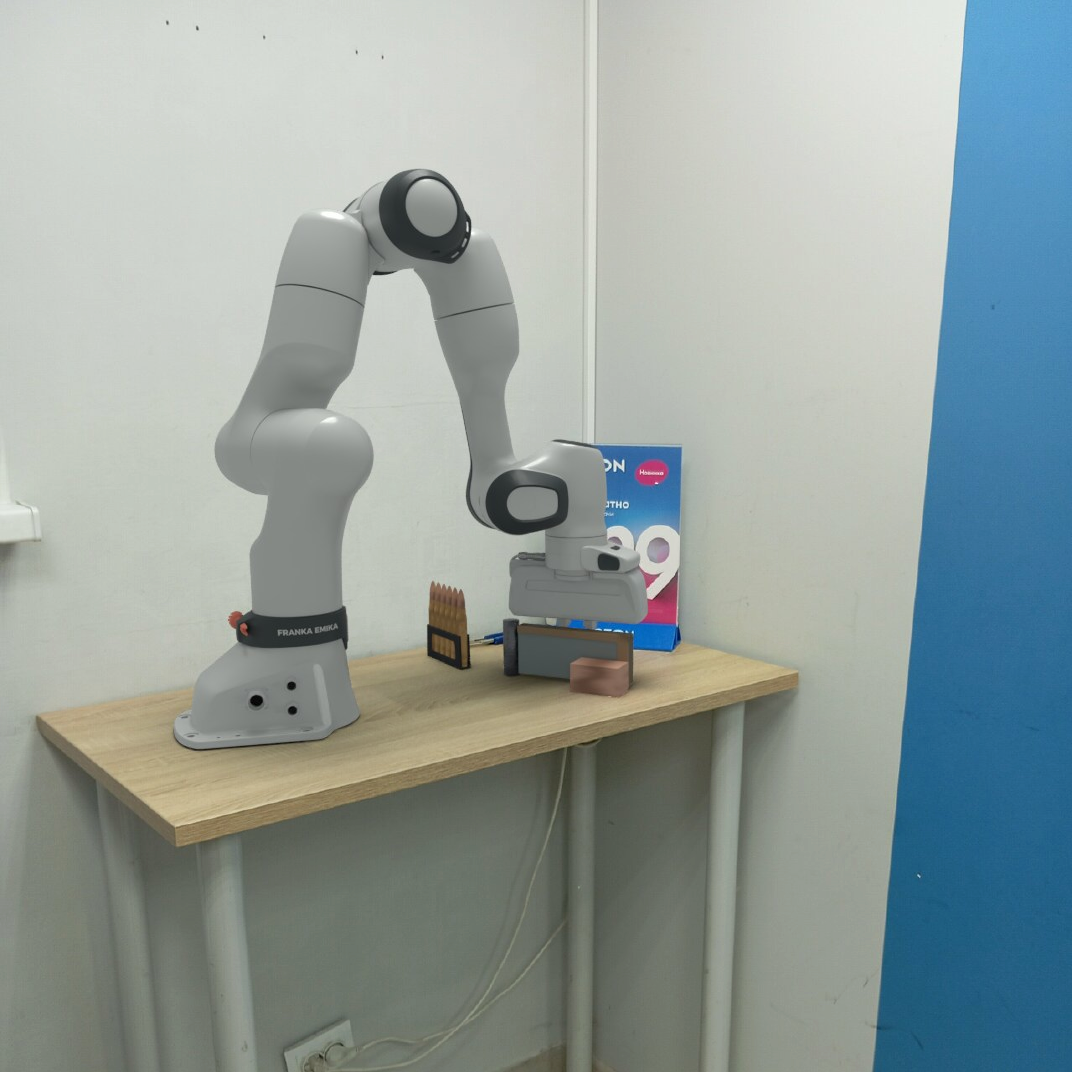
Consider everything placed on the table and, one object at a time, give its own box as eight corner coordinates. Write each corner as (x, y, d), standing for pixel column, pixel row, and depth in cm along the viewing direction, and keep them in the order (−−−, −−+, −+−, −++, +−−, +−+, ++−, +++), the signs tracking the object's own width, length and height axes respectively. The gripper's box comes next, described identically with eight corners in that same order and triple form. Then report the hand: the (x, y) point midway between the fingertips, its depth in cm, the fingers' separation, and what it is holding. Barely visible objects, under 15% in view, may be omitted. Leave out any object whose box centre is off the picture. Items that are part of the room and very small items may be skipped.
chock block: (570, 692, 140) (570, 663, 140) (581, 684, 144) (581, 657, 143) (618, 697, 137) (618, 668, 136) (628, 690, 141) (628, 661, 140)
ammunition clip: (471, 668, 153) (469, 589, 152) (460, 670, 152) (458, 590, 151) (437, 653, 162) (435, 579, 160) (426, 655, 161) (424, 580, 159)
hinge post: (507, 676, 148) (506, 622, 147) (501, 672, 150) (500, 619, 149) (522, 674, 149) (521, 620, 148) (516, 670, 151) (515, 617, 150)
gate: (517, 673, 148) (517, 625, 147) (524, 669, 150) (523, 623, 149) (628, 686, 141) (628, 636, 140) (633, 682, 142) (633, 633, 141)
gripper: (500, 554, 146) (502, 648, 148) (638, 560, 138) (638, 660, 140) (517, 548, 152) (519, 639, 154) (651, 554, 144) (651, 649, 146)
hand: (577, 649), depth 147 cm, fingers closed
